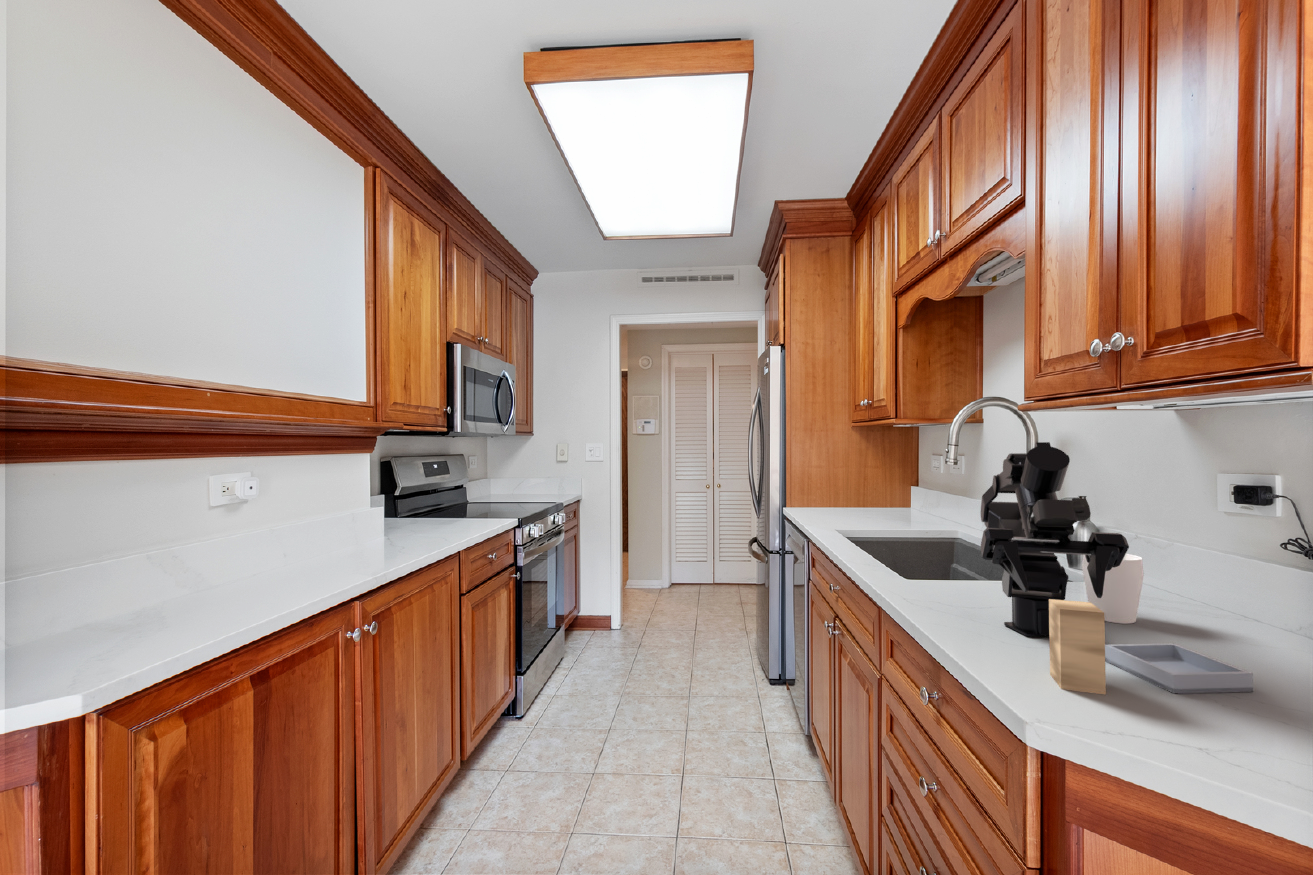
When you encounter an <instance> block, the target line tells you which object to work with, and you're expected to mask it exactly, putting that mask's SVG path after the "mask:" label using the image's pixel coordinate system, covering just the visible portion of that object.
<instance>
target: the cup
mask: <svg viewBox="0 0 1313 875" xmlns="http://www.w3.org/2000/svg"><path fill="white" fill-rule="evenodd" d="M1088 564H1089V563H1088V562H1087V560H1086V557H1085V555H1082V567H1081V568H1082V574H1083V579H1084V585H1085V590H1086V595H1087V596H1086V597H1087V602H1091V603H1092V604H1093V605H1095V606H1096V607H1097V608H1099V609H1100V610H1102V611H1103V612H1104V620H1105V622H1107V623H1115V624H1123V625H1124V624H1129V625H1131V624H1133V623H1136V622H1137V617H1138V613H1139V612H1138V611H1139V606H1140V598H1141V593H1142V587H1143V581H1144V574H1145V573H1144V566H1143V557H1141V556H1139V555H1134V554H1131V553H1126V554H1125V556H1124V558H1123V560H1122V562H1121V564H1120V566H1117V567H1112V569H1111V570H1109V571H1106V572H1105V580H1104V588H1103V595H1102V597H1101V598H1097V596H1096V594H1095V592H1094V589H1093V586H1092V583H1091V580H1090V576H1089V573H1088V570H1087V566H1088Z"/></svg>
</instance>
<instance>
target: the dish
mask: <svg viewBox="0 0 1313 875" xmlns="http://www.w3.org/2000/svg"><path fill="white" fill-rule="evenodd" d="M1105 663H1108V664H1110V663H1111V664H1110V665H1113V666H1115V667H1116V668H1119V669H1120V670H1123V671H1125V672H1126V673H1129V672H1130V673H1129V674H1131V673H1132V674H1131V675H1134V676H1136V677H1138V678H1139V679H1142V680H1144V681H1146V682H1148V681H1149V683H1150V682H1151V684H1152V683H1153V684H1152V685H1154V686H1157V685H1158V686H1157V687H1159V686H1160V687H1159V688H1162V689H1163V688H1164V689H1163V690H1165V689H1167V690H1168V692H1169V691H1170V692H1169V693H1171V692H1172V694H1174V693H1178V694H1207V693H1208V694H1212V693H1216V694H1218V693H1220V694H1221V693H1251V692H1254V684H1253V683H1254V676H1253V675H1254V674H1253V672H1250V671H1248V670H1246V669H1243V668H1240V667H1238V666H1235V665H1232V664H1229V663H1228V662H1227V663H1226V662H1225V661H1222V660H1219V659H1216V658H1214V657H1211V656H1208V655H1205V654H1203V653H1200V652H1197V651H1195V650H1192V649H1190V648H1188V647H1185V646H1182V645H1179V644H1176V643H1173V642H1172V643H1169V642H1168V643H1129V644H1128V643H1124V644H1123V643H1122V644H1105ZM1167 690H1166V691H1167Z"/></svg>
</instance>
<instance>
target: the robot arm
mask: <svg viewBox="0 0 1313 875" xmlns="http://www.w3.org/2000/svg"><path fill="white" fill-rule="evenodd" d="M1070 460H1071V459H1070V456H1069V455H1068V454H1067V453H1066V452H1064V451H1063V450H1061V449H1059V448H1057V447H1053V446H1051V443H1050V441H1049V442H1048V441H1047V442H1045V441H1044V442H1040V441H1037V442H1035V444H1034V447H1033V448H1031V449H1030V450H1029V451H1027V453H1023V452H1022V453H1013V452H1012V453H1009V454H1008V455H1007V456H1006V458H1005V459H1004V460H1003V461H1002V471H1001V472H1000V473H997V474H995V475H993V477H992V484H991V486H990V487H989V488H987V490H986V491H985V492H984V493H983V494H982V496H981V501H980V502H981V504H980V521H981V523H984V526H985V527H986V528H985V529H984V530H983V532H982V533H983V534H982V537H981V542H980V554H981V558H983V560H985V561H991V563H992V564H994V565H998V566H999V567H1000V568H1002V569H1003V573H1002V578H1001V585H1002V592H1003V593H1004V594H1005V596H1006V597H1007V598H1011V618H1012V619H1011V620H1012V621H1004V622H1003V624H1004V626H1006V627H1007V628H1009V629H1012V630H1014V631H1016V632H1018V633H1019V634H1021V635H1023V636H1026V637H1031V638H1032V637H1049V599H1055V600H1066V594H1067V585H1068V581H1069V574H1067V572H1066V569H1065V567H1064V566H1063V565H1062V566H1061V563H1060V561H1059V560H1058V558H1059V557H1058V556H1057V555H1056V554H1060V555H1061V554H1062V555H1063V554H1065V555H1080V556H1081V555H1082V556H1083V555H1085V557H1086V560H1087V562H1088V563H1089V564H1088V566H1087V570H1088V573H1089V576H1090V580H1091V583H1092V586H1093V589H1094V592H1095V594H1096V596H1097V598H1101V597H1102V595H1103V588H1104V580H1105V572H1106V571H1109V570H1111V569H1112V567H1117V566H1120V564H1121V562H1122V560H1123V558H1124V556H1125V554H1127V552H1128V550H1129V548H1130V544H1129V543H1128V540H1127V538H1126V537H1125V536H1124V535H1123V534H1122V533H1119V532H1099V531H1096V532H1095V531H1093V532H1091V533H1090V536H1089V538H1088V540H1071V538H1070V536H1073V535H1074V532H1075V531H1076V530H1075V527H1074V524H1075V523H1077V522H1078V521H1080V522H1086V521H1087V520H1088V519H1089V518H1090V517H1091V508H1090V505H1089V502H1088V499H1087V498H1085V497H1084V498H1083V497H1082V498H1081V497H1073V498H1072V499H1058V495H1057V493H1056V492H1060V491H1061V490H1062V486H1063V484H1064V481H1065V477H1066V473H1067V471H1068V468H1069V465H1070ZM999 494H1015V496H1016V500H1017V501H995V499H997V497H998V496H999Z"/></svg>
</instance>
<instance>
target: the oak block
mask: <svg viewBox="0 0 1313 875" xmlns="http://www.w3.org/2000/svg"><path fill="white" fill-rule="evenodd" d="M1105 622H1106V621H1105V620H1104V612H1103V611H1102V610H1100V609H1099V608H1097V607H1096V606H1095V605H1093V604H1092V603H1091V602H1088V601H1079V600H1078V601H1077V600H1066V599H1065V600H1055V599H1049V636H1048V637H1049V675H1050V677H1052V679H1053V681H1055V684H1057V685H1058V687H1059V688H1060V689H1061V690H1067V691H1075V692H1082V693H1090V694H1097V695H1107V693H1106V692H1107V691H1106V688H1107V687H1106V686H1107V684H1106V682H1107V681H1106V661H1105V645H1106V639H1105V638H1106V637H1105V636H1106V633H1105V631H1106V630H1105Z"/></svg>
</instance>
